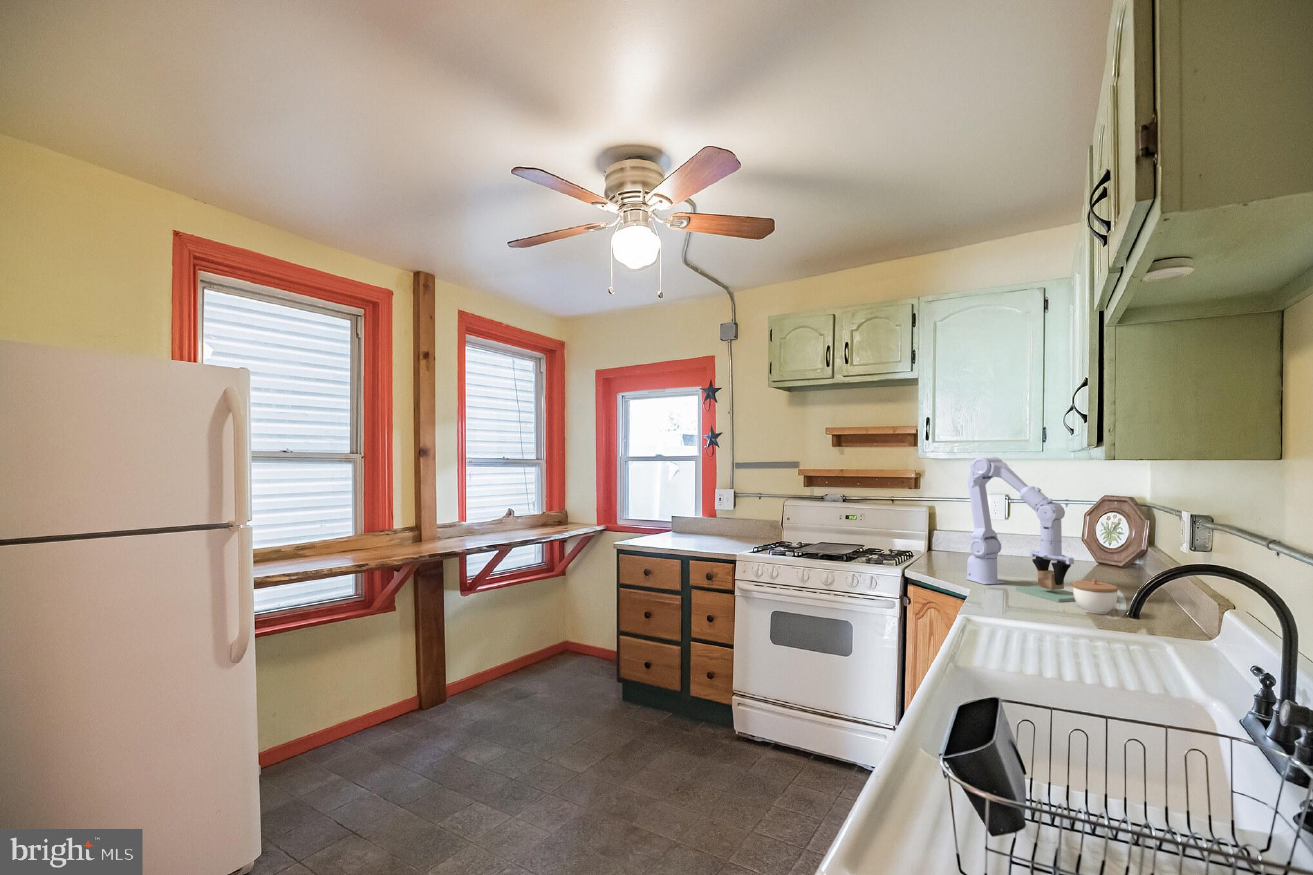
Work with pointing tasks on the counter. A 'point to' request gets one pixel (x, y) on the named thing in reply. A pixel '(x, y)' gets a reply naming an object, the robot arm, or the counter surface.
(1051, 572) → the walnut block
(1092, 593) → the lidded jar
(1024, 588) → the sage board
